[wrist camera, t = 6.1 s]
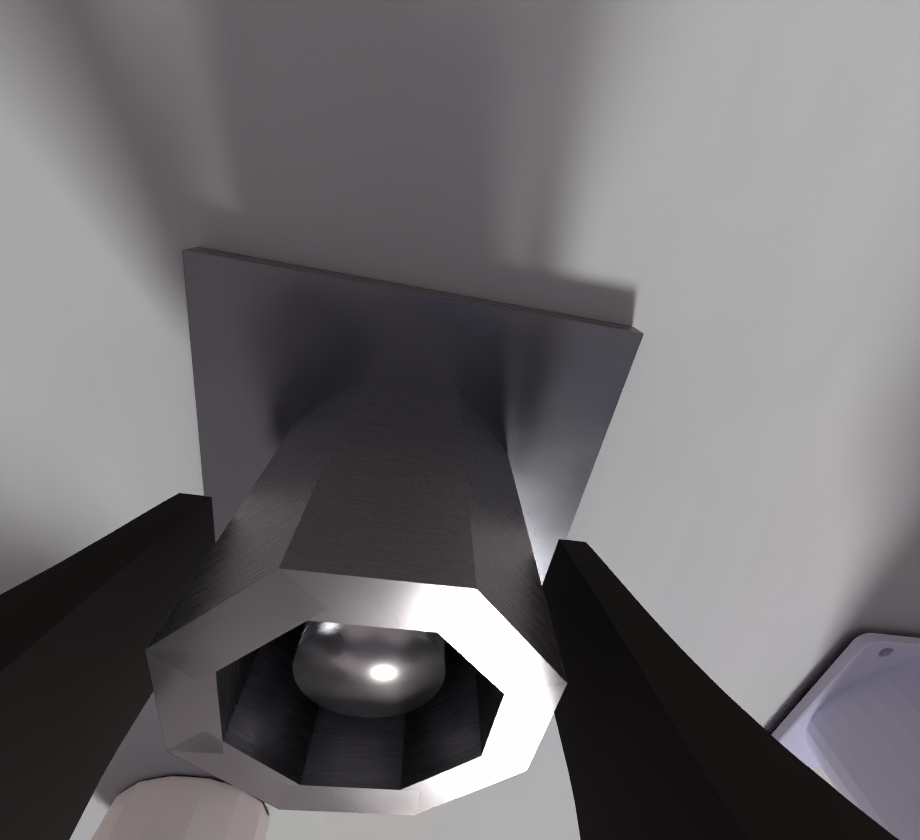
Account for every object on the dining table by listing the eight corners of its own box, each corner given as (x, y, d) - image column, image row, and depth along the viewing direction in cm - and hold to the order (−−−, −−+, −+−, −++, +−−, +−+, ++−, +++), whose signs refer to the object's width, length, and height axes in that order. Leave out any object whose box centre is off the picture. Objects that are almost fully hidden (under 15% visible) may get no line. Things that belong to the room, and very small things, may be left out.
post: (633, 327, 11) (819, 449, 5) (528, 612, 15) (575, 833, 10) (197, 246, 9) (-105, 304, 4) (222, 582, 14) (89, 813, 9)
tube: (522, 399, 11) (605, 602, 5) (478, 563, 13) (504, 819, 8) (295, 364, 10) (125, 552, 5) (291, 542, 12) (176, 804, 7)
